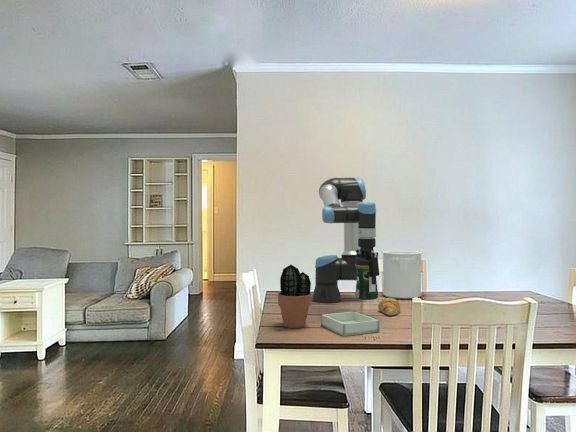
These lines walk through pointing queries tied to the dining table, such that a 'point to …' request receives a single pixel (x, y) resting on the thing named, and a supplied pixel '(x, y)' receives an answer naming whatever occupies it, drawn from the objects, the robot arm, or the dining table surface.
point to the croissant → (389, 306)
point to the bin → (349, 323)
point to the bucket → (402, 274)
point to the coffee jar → (364, 280)
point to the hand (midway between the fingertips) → (366, 289)
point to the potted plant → (294, 297)
